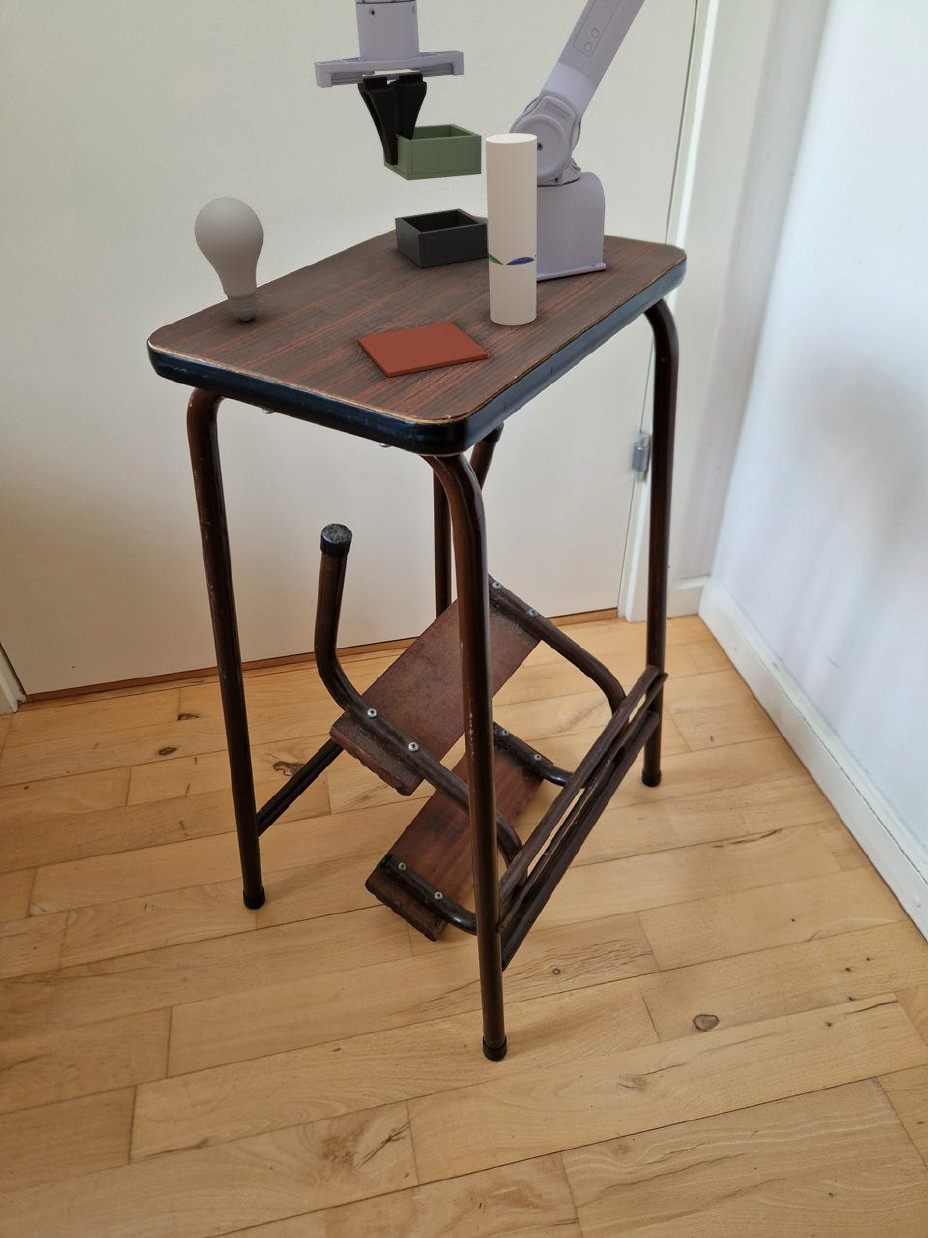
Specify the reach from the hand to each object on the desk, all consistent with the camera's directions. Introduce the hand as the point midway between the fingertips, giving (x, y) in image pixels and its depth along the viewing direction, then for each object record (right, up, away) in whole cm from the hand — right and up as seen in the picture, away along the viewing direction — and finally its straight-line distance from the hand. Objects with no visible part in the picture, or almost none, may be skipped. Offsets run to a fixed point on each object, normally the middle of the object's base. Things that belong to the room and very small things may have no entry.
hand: (397, 162), depth 90 cm
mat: (+3, -23, -13) cm, 27 cm away
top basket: (+3, 0, +2) cm, 4 cm away
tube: (+11, -19, -7) cm, 23 cm away
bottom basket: (+4, -5, +10) cm, 12 cm away
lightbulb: (-14, -18, -5) cm, 23 cm away
